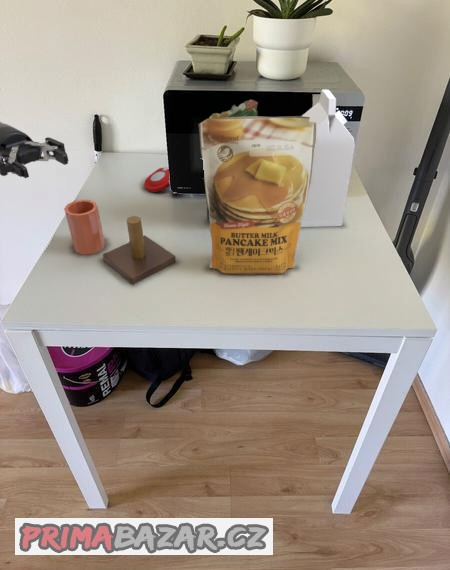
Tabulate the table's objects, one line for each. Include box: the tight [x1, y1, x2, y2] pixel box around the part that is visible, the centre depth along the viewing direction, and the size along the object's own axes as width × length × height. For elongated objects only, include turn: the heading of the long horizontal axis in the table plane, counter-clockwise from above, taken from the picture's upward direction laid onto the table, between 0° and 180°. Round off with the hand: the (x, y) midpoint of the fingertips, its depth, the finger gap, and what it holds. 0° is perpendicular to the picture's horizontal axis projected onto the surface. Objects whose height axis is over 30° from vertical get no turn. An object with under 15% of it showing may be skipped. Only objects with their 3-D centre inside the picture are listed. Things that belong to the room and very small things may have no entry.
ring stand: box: [102, 215, 177, 285], centre depth 83 cm, size 10×10×10 cm
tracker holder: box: [143, 166, 180, 195], centre depth 109 cm, size 12×4×10 cm
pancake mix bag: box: [197, 115, 316, 275], centre depth 77 cm, size 7×19×28 cm, turn 91°
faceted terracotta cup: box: [64, 199, 106, 256], centre depth 87 cm, size 6×6×9 cm
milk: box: [301, 89, 356, 228], centre depth 93 cm, size 12×12×26 cm
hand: (46, 166), depth 87 cm, fingers open, 8 cm apart
